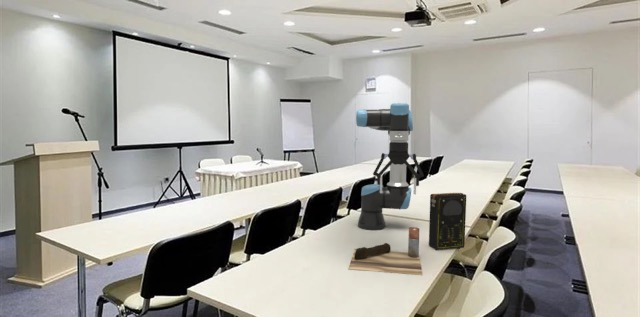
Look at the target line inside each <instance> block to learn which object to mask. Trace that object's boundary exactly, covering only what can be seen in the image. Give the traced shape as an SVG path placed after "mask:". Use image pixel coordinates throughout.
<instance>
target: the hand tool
mask: <svg viewBox="0 0 640 317" xmlns="http://www.w3.org/2000/svg"><path fill="white" fill-rule="evenodd" d="M391 248H392V247H391V244H390V243H387V242H385V243H383V244H379V245H375V246H371V247H365V246H364V247H358V248H356V249H357V250H356V252H355V256H354V259H355V260H358V259H366V258H367V257H368V256H372V255H375V254H380V253H385V252H388V253H389V252H390V251H392V250H391Z"/></svg>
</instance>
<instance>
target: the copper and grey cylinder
mask: <svg viewBox="0 0 640 317" xmlns="http://www.w3.org/2000/svg"><path fill="white" fill-rule="evenodd" d="M407 239H408V242H407V243H408V246H407V247H408V248H407V249H408V250H407V252H408V256H409V257H411V258H417V257H420V254H419V252H420V228H419V227H415V226H414V227H413V226H410V227H408V238H407Z"/></svg>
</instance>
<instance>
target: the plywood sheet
mask: <svg viewBox="0 0 640 317" xmlns="http://www.w3.org/2000/svg"><path fill="white" fill-rule="evenodd" d="M357 249H358V248H354V250H353V252H352V256H351V259H350V263H349V264H348V268H347V269H348V270H350V271H352V270H353V271H363V272H375V273H388V274H399V275H411V276H413V275H414V276H424V273H423V269H422V264H421V257H420V256H419V257H417V258H411V257H409V256H408V251H392V250H390V252H389V253H388V252H385V253H380V254H375V255H372V256H368V257H367V258H366V259H358V260H355V259H354V256H355V252H356V250H357Z"/></svg>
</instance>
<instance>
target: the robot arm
mask: <svg viewBox="0 0 640 317" xmlns="http://www.w3.org/2000/svg"><path fill="white" fill-rule="evenodd" d="M355 113H356V114H355V121H356V122H355V123H356V126H357V127H358V128H359V127H360V128H369V129H371V130H376V131H385V132H386V131H387V135H388V136H389V141H390V142H389V145H388V146H389V147H388V149H389V152H388V153H384V152H382V153H381V156H380V160H379V161H378V163H377V165H376V167H375V169H374V171H373V173H372V175H373V176H374V177H377V178H376V181H377V182H376V183H373V184H367V185H364V186H362V187H361V192H360V193H361V194H360V196H361V198H360V200H361V204H360V206H361V207H360V215H359V218H358V220H357V227H358V228H360V229H361V230H370V231H374V230H375V231H378V230H383V229H385V228H386V221H385V218H384V214H383V209H389V210H390V209H392V210H407V209H409V207H410V202H411V199H412V198H411V197H412V188H411V187H410V184H409V183H408V182H407V168H408V169H409V170H410V172H411V174H413V176H414V177H413V195H415V196H416V194H417V187H419V186H420V178H423V177H424V176H425V175H424V172H423V170H422V168H421V167H420V163H419V162H418V160H417V154H416V153H412V154H411V153H410V154H409V142H408V141H409V136H410V134H411V132H412V131H414V126H413V124H414V123H413V118H412V117H413V116H412V112H411V110H410V105H409V104H408V103H407V102H405V103H404V102H397V103H396V102H394V103H391V104H390V106H389V108H380V109H365V108H364V109H358V110H356V112H355ZM387 158H388V159H389V161H388V162H387V164H386V165H385V166H383V168H382V169H381V170H380V171H379V169H380V167H381V166H382V164H383V162H384V160H385V159H387ZM409 158H410V159H411V160H412V161H413V163H414V164H415V167H416V170H417V171H418V173H419V174H418V173H417V171H415V169H414V167H413V166H412V165H410V163H409V162H408V160H409ZM388 169H389V182H387V183H386V186H385V187H384V185H383V176H382V175H383V174H385V172H386V171H387V170H388ZM378 171H379V172H378Z"/></svg>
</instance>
